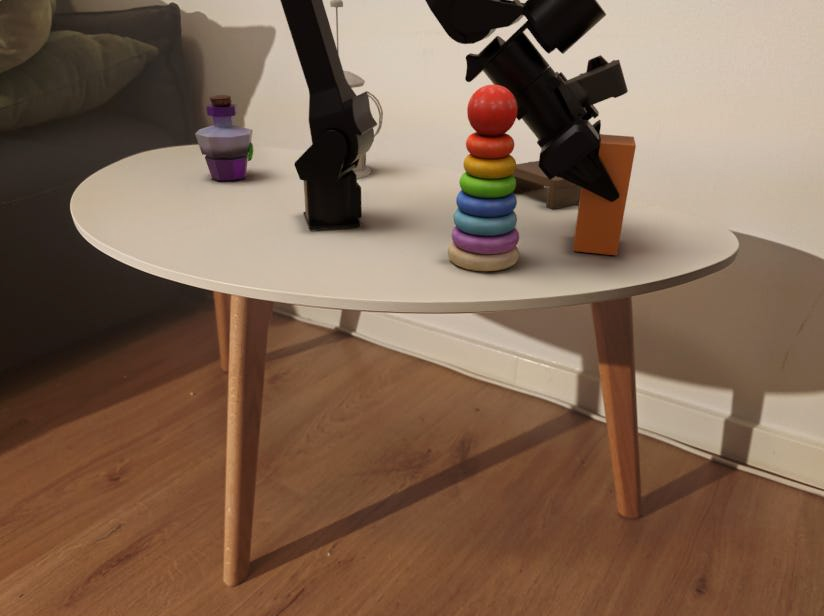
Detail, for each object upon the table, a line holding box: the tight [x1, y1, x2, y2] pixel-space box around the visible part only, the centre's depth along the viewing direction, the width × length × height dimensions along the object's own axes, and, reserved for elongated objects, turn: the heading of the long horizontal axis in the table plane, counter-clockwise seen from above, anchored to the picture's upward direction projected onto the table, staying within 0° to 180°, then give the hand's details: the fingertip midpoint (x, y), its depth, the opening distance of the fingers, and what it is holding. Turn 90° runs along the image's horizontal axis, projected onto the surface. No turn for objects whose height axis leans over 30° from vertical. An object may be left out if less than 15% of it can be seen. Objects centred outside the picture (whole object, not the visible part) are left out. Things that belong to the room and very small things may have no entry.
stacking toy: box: [447, 84, 520, 272], centre depth 74 cm, size 8×8×19 cm
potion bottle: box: [194, 94, 254, 183], centre depth 105 cm, size 9×9×12 cm
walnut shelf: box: [512, 160, 581, 210], centre depth 102 cm, size 7×10×4 cm
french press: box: [329, 0, 384, 179], centre depth 107 cm, size 10×12×25 cm
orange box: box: [572, 133, 637, 256], centre depth 81 cm, size 5×5×12 cm
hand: (615, 193), depth 80 cm, fingers closed on orange box, 5 cm apart
